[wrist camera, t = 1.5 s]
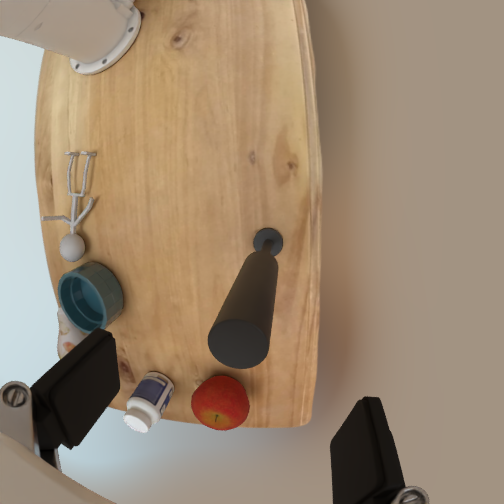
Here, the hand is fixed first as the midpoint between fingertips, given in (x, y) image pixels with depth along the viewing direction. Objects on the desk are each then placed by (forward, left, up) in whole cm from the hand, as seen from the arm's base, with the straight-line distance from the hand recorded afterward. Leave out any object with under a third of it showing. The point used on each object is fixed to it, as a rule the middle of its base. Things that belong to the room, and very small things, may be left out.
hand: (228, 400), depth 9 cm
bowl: (+22, -13, -23) cm, 34 cm away
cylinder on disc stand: (0, 0, -23) cm, 23 cm away
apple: (+20, +10, -23) cm, 32 cm away
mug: (+32, -13, -23) cm, 41 cm away
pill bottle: (+29, +3, -23) cm, 37 cm away
